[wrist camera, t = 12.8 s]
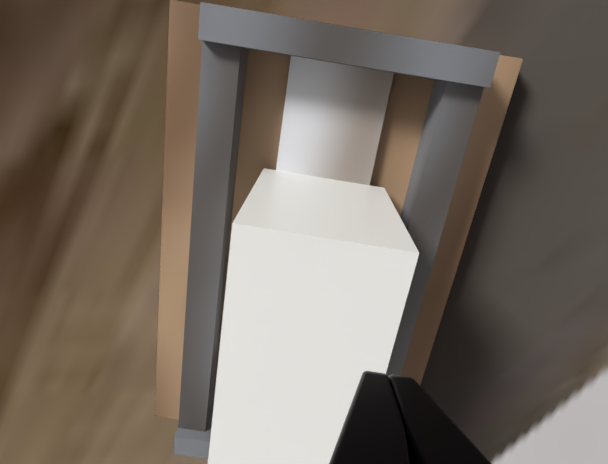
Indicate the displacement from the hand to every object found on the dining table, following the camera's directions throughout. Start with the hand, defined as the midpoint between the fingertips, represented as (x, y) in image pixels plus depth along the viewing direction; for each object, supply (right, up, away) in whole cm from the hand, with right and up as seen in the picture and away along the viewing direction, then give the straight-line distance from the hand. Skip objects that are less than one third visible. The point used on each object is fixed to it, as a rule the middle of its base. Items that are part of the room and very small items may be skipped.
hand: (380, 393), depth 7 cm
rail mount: (-1, +2, +11) cm, 11 cm away
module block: (-1, +1, +10) cm, 10 cm away
